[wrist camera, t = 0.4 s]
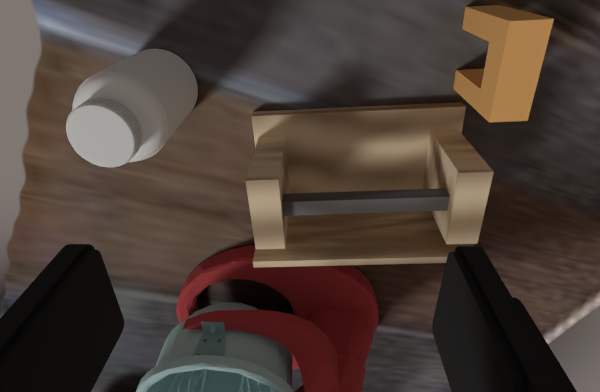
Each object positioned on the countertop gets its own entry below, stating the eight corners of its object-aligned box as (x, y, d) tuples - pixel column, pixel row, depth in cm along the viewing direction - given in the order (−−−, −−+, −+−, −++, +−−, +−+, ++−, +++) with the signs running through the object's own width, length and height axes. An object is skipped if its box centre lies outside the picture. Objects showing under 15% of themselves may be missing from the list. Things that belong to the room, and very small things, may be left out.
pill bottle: (203, 57, 41) (154, 102, 28) (195, 126, 45) (148, 194, 32) (127, 36, 40) (40, 73, 27) (125, 109, 44) (49, 171, 31)
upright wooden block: (465, 6, 38) (509, 21, 29) (499, 4, 38) (554, 18, 29) (453, 88, 42) (489, 122, 33) (483, 87, 42) (527, 120, 33)
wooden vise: (253, 111, 44) (236, 155, 34) (461, 102, 43) (505, 145, 33) (265, 208, 51) (253, 268, 41) (445, 202, 49) (478, 262, 40)
